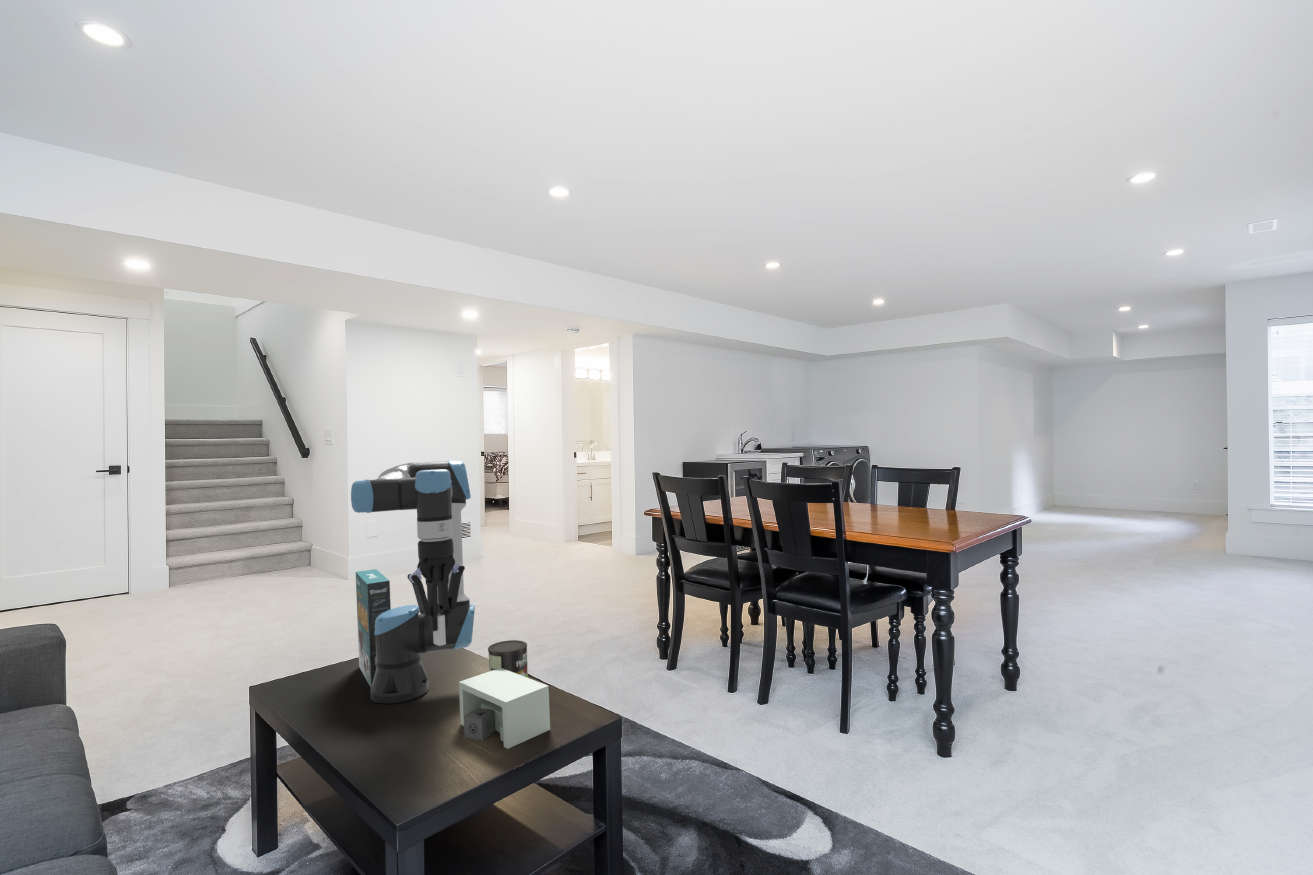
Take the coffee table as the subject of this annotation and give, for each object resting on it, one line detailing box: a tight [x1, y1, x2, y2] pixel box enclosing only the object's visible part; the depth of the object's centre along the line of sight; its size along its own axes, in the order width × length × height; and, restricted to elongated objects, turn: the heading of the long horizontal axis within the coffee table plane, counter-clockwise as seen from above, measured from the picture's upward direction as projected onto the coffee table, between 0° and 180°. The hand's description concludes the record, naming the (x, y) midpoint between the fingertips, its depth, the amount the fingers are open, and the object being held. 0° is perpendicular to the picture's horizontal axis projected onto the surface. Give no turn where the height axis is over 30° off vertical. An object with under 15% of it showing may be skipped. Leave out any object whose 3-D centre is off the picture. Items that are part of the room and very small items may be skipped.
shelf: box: [458, 668, 551, 750], centre depth 157 cm, size 20×12×10 cm, turn 47°
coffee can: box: [487, 639, 529, 678], centre depth 174 cm, size 10×10×14 cm
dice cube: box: [463, 708, 496, 741], centre depth 153 cm, size 5×5×5 cm
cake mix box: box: [355, 568, 392, 688], centre depth 196 cm, size 22×6×30 cm, turn 33°
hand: (439, 643), depth 145 cm, fingers closed
